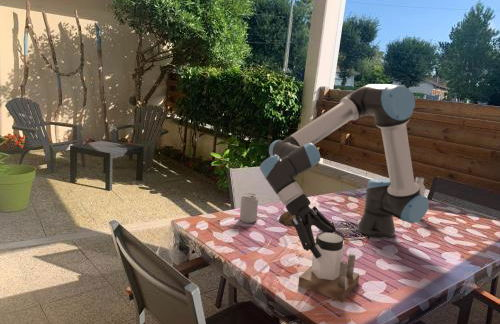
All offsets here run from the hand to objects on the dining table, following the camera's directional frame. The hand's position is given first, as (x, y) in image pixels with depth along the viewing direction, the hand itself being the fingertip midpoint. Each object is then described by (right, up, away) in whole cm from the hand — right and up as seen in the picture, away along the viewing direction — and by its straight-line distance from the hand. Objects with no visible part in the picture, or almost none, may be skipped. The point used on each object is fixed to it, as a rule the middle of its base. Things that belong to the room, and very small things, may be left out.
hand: (335, 258), depth 114 cm
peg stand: (-1, -9, +2) cm, 9 cm away
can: (-27, +3, +52) cm, 59 cm away
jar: (-2, -6, +3) cm, 7 cm away
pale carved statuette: (+54, +2, +70) cm, 89 cm away
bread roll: (-7, +2, +55) cm, 56 cm away
